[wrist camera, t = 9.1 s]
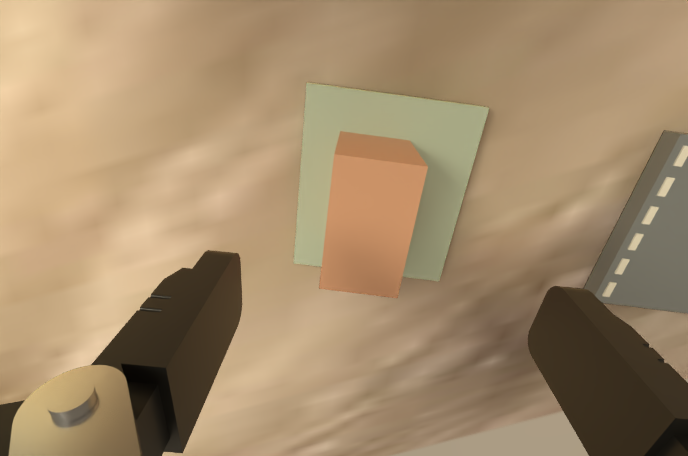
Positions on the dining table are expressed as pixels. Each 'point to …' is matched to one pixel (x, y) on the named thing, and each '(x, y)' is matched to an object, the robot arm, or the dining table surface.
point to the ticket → (650, 237)
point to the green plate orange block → (381, 185)
